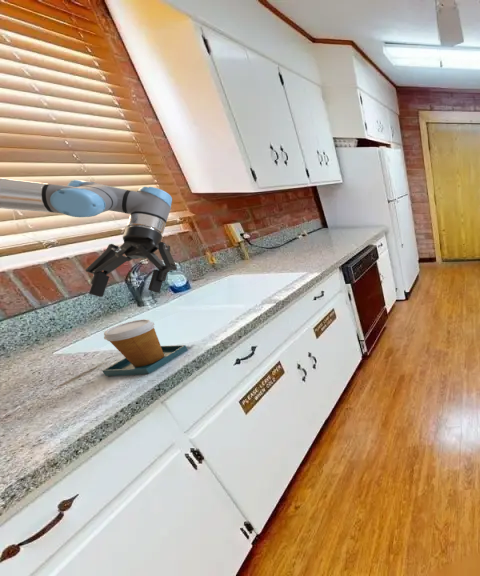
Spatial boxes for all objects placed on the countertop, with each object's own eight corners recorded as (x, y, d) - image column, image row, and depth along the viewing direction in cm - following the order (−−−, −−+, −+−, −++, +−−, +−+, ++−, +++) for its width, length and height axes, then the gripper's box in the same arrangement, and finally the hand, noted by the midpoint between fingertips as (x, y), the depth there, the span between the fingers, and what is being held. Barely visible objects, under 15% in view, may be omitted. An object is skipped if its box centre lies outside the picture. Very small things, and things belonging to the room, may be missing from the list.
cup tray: (105, 376, 84) (101, 370, 83) (149, 351, 95) (146, 346, 94) (149, 374, 85) (146, 369, 84) (188, 350, 96) (185, 345, 95)
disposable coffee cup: (139, 356, 92) (117, 323, 87) (178, 348, 95) (159, 315, 91) (116, 374, 84) (90, 338, 79) (160, 364, 87) (138, 330, 82)
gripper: (200, 236, 100) (187, 293, 93) (107, 239, 94) (85, 301, 87) (182, 223, 93) (165, 284, 86) (80, 226, 88) (54, 292, 80)
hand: (125, 293), depth 87 cm, fingers open, 13 cm apart
